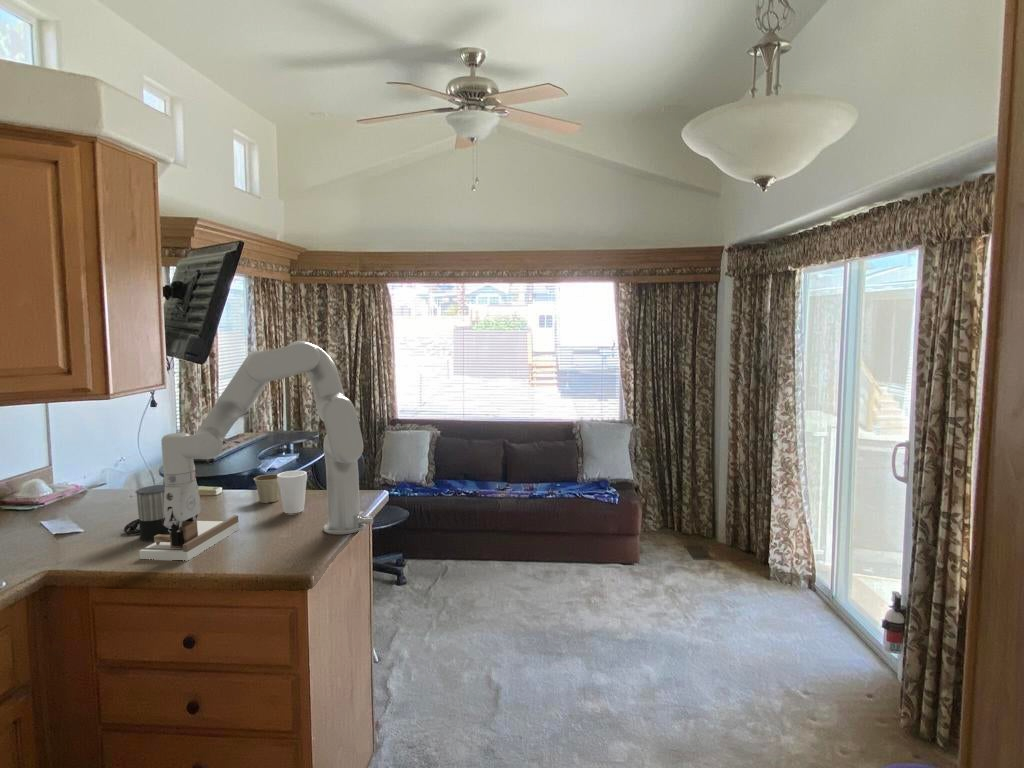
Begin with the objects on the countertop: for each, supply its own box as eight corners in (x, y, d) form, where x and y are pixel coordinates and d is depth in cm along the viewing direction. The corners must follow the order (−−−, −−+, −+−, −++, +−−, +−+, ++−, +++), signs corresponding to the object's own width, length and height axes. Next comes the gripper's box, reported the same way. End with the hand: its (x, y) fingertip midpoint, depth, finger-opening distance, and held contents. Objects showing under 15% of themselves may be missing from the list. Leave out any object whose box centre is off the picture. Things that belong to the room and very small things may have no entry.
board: (238, 529, 203) (238, 515, 202) (188, 560, 177) (186, 544, 177) (196, 528, 204) (195, 514, 204) (140, 559, 179) (138, 543, 178)
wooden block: (198, 542, 184) (196, 521, 184) (187, 548, 179) (186, 527, 179) (162, 541, 186) (160, 520, 185) (150, 547, 181) (148, 526, 180)
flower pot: (259, 497, 238) (257, 474, 237) (285, 496, 239) (284, 473, 238) (251, 505, 229) (250, 481, 228) (279, 504, 230) (278, 479, 229)
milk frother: (166, 540, 194) (162, 491, 192) (109, 544, 192) (105, 495, 190) (183, 525, 208) (180, 480, 206) (130, 528, 206) (127, 482, 204)
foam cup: (312, 512, 219) (310, 474, 218) (283, 517, 214) (281, 478, 213) (303, 505, 227) (301, 469, 226) (276, 510, 222) (274, 473, 220)
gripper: (172, 486, 171) (178, 553, 173) (210, 470, 188) (214, 532, 190) (146, 486, 172) (151, 552, 174) (185, 470, 189) (190, 531, 191)
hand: (184, 541), depth 182 cm, fingers closed on wooden block, 5 cm apart
